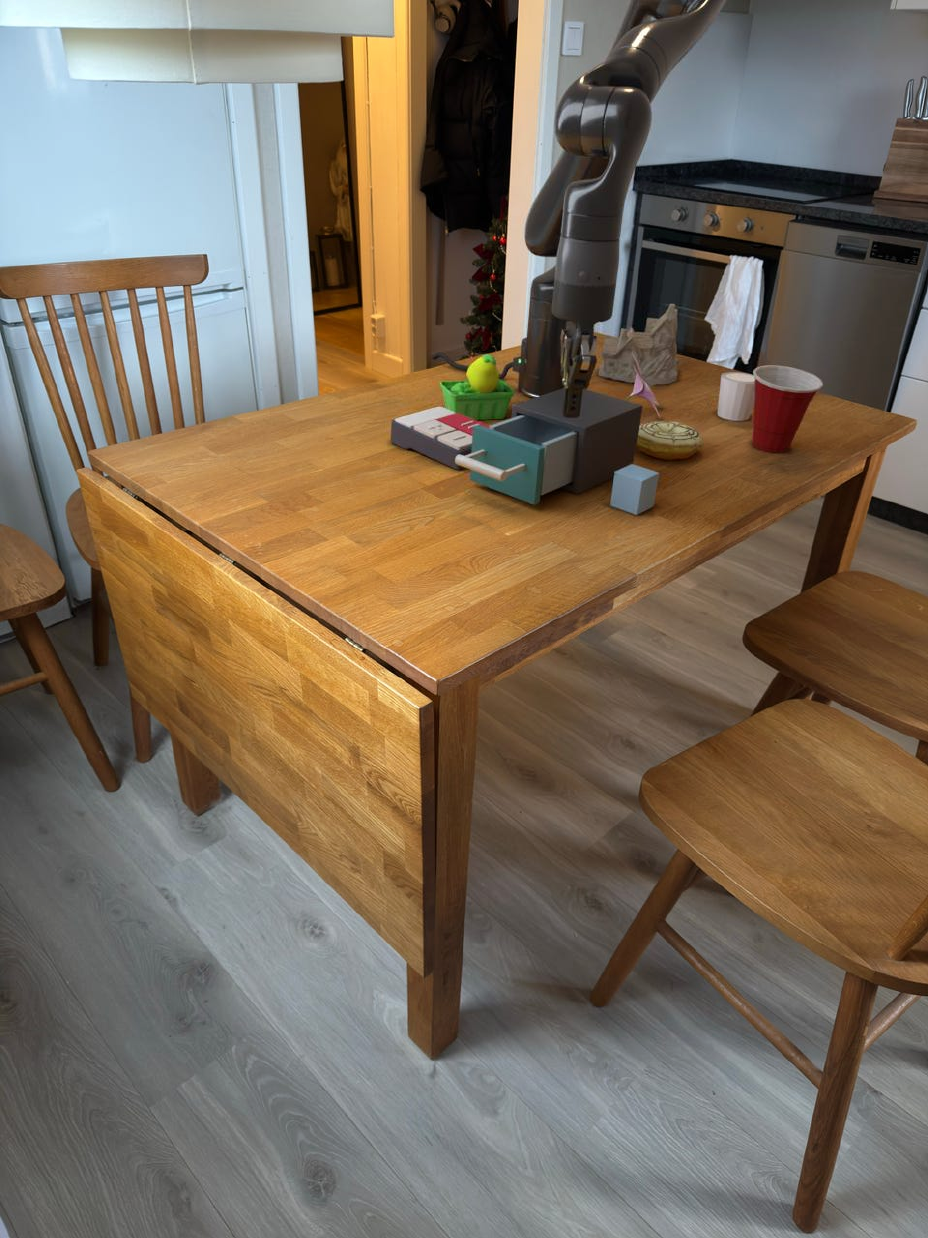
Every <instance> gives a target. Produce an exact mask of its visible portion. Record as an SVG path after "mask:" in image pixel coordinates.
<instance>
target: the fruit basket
mask: <svg viewBox="0 0 928 1238" xmlns="http://www.w3.org/2000/svg"><path fill="white" fill-rule="evenodd" d="M496 365H497V361H496V358H495V357H494V356H493V355H490V354H487V353H486V354H482V356H480V357H478V358H477V359H476V360H475V361H473V362H471V364H470V365H468V366H469V368H468V370H467V371H466V378H467V380H450V381H449V380H447V381H440V382H439V386H440V389H441V391H442V395H443V402H444V406H445V408H446V409H448V410H450V411H453V412H455V413H460V414H462V415H465V416H467V417H469V418H472V419H474V420H476V421H490V420H503V419H505V417H506V414H507V412H508V409H509V406H510V404H511V401H512V398H513V397H514V395H515V394H516V393H515V392H516V391H515V390H514V389H513V388H512V387H511V386H510V385H508V383H506V382H505V381H504V380H503V379H499V374H500V373H499V369H498V368H497V366H496Z"/></svg>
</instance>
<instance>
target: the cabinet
mask: <svg viewBox="0 0 928 1238" xmlns="http://www.w3.org/2000/svg"><path fill="white" fill-rule="evenodd" d="M563 391H564V388H563V389H560V390H557V391H554V392H551V393H548V394H545V395H542V396H539V397H536V398H529V399H526V400H524V401H520V402H518V403H515V404H512V408H511V410H512V411H511V418H514V417H517V416H520V415H523V414H524V415H527V416H530V417H533V418H536V419H539V420H543V421H546V422H549V423H552V424H555V425H558V426H561V427H564V428H568V429H571V430H574V431H577V432H580V433H579V439H578V448H577V456H576V464H575V473H574V481H573V482H570V483H568V484H566V485H564V486H561V487H559V488H558V489H563V490H564V491H567V492H570V493H573V494H576V495H579V494H581V493H582V492H585V491H587V490H589V489H591V488H593V487H595V486H597V485H598V486H599V485H600V484H602V483H603V482H606V481H608V480H610V479H612V478H613V479H614V474H615V472H616V471H618V470H620V469H622V468H624V467H627V466H629V465H631V464H634V465H635V458H636V453H637V452H636V450H637V447H638V446H637V439H638V433H639V426H641V419H642V413H643V405H642V404H640V403H639V404H638V403H635V402H631V401H628V400H627V401H625V400H626V399H622V398H618V397H615V396H611V395H607V394H604V393H600V392H596V391H594V390H591V389H590V390H589V389H588V388H587V389H584V390H583V391H582V400H581V408H580V415H579V417H577V418H566V417H564V416H563V414H562V411H561V410H562V401H563Z"/></svg>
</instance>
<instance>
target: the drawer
mask: <svg viewBox="0 0 928 1238" xmlns="http://www.w3.org/2000/svg"><path fill="white" fill-rule="evenodd" d="M488 426H489V428H486V427H483V426H480V425H477V426H474V427H473V434H472V453H471V454H468V455H466V456H463V455H460V454H459V455H457V456H456V458H455V463H456V464H457V465H460V466H462V467H465V468H464V469H468V470H470V471H469V472H470V473H469V474H470V475H469V481H471V482H474V483H476V484H479V485H481V486H483V487H486V488H489V489H492V490H495V491H497V492H498V493H502V494H504V495H507V496H510V497H512V498H515V499H518V500H520V501H523V502H524V503H528V504H531V505H532V506H535V505H537V504H540V502H541V496H544V495H546V494H548V493H551V492H552V491H555V490H558V489H560V488H559V487H561V486H564V485H566V484H568V483H570V482H573V481H574V473H575V464H576V456H577V448H578V439H579V433H580V432H577V431H574V430H571V429H568V428H564V427H561V426H558V425H555V424H552V423H549V422H546V421H543V420H539V419H536V418H533V417H530V416H527V415H524V414H523V415H520V416H517V417H514V418H512V417H511V418H508V419H505V420H502V421H499V422H497V423H493V424H491V425H488Z"/></svg>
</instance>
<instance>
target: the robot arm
mask: <svg viewBox="0 0 928 1238" xmlns="http://www.w3.org/2000/svg"><path fill="white" fill-rule="evenodd" d="M726 2H727V0H630V2H629V4H628V7H627V9H626V12H625V14H624V17H623V20H622V22H621V25H620V27H619V30H618V32H617V34H616V37H615V39H614V42H613V43H612V46H611V47H610V50H609V53H608V55H607V57H606V58H605V61H603V62H601V63H599V64H597V65H596V66H594V67H592V69H590V70H588V71H587V72H586V73H583V74H582V75H581V76H579V77H578V78H577V79H575V80H574V82H572V83H571V84H570V86H569V87H568V88H567V89H566V90H565V91H564V93H563V95H562V96H561V98H560V99H559V102H558V104H557V107H556V109H555V114H554V121H553V129H554V135H555V139H556V141H557V143H558V144H559V146H560V148H561V149H562V151H561V153H560V155H559V157H558V159H557V161H556V163H555V165H554V167H553V168H552V170H551V172H550V174H549V175H548V177H547V178H546V180H545V182H544V184H543V185H542V187H541V189H540V190H539V192H538V194H537V195H536V197H535V198H534V200H533V201H532V204H531V205H530V208H529V210H528V213H527V216H526V220H525V224H524V235H523V236H524V242H525V246H526V248H527V250H528V251H529V252H530V253H531V254H532V255H534V256H537V257H542V258H555V264H554V265H553V267H551V268H550V269H549V270H547V271H545V272H544V273H542V274H539V275H537V276H536V277H534V278H533V279H532V281H531V283H530V291H529V303H528V305H529V306H528V319H527V330H526V337H524V338H522V339H521V344H520V345H521V346H520V347H521V348H520V356H516V357H513V358H512V359H513V360H512V361H511V362H508V363H507V364H505V366H504V367H503V370H502V372H501V373H499V380H503V379H505V378H506V377H507V375H508V372H509V370H510V369H512V371H513V372H515V373H518V383H517V391H518V392H521V393H522V394H523V395H524V396H526V397H529V398H530V399H533V398H536V397H539V396H542V395H545V394H548V393H551V392H554V391H557V390H560V389H563V388H564V391H563V401H562V410H561V411H562V414H563V416H564V417H566V418H577V417H579V415H580V408H581V400H582V391H583V390H584V389H587V390H588V388H589V386H590V385H589V384H590V382H591V380H592V377H593V374H594V370H595V368H596V366H597V363H598V358H597V355H595V353H594V352H595V351H596V350H597V345H598V336H597V335H595V325H596V324H598V323H605V322H608V321H609V320H611V318H612V317H613V312H614V305H615V304H614V303H615V296H616V289H617V281H618V280H617V279H618V274H619V273H618V272H619V266H620V265H619V264H620V240H621V232H622V225H623V224H622V223H623V217H624V210H625V203H626V199H627V195H628V191H629V188H630V184H631V182H632V178H633V176H634V173H635V170H636V167H637V164H638V162H639V159H640V157H641V155H642V152H643V150H644V147H645V145H646V142H647V139H648V136H649V134H650V131H651V125H652V118H653V112H652V105H651V104H652V103H653V101H654V99H655V97H656V96H657V94H658V92H659V91H660V90H661V88H662V86H663V84H664V83H665V81H666V79H667V78H668V76H669V75H670V74H671V72H672V71H673V70H674V68H675V67H676V66H677V65H678V64H679V63H680V62H681V61H682V60H683V59H684V58H685V57H686V56H688V54H689V53H690V52H691V51H692V50H693V49H694V48H695V46H696V45H697V44H698V43H699V42H700V41H701V40H702V38H703V37H704V36H705V35H706V34H707V33H708V32H709V30H710V29H711V27H712V26H713V24H714V23H715V22H716V19H717V18H718V17H719V15H720V13H721V12H722V9H723V8H724V6H725V4H726ZM652 18H653V20H651V19H652ZM438 358H442V359H443V360H444V361H445V362H446V363H447V364H448V365H449V366H451V367H452V368H454V369H456V370H460V371H465V372H467V370H468V368H469V366H470V365H465V364H461V363H458V362H455V361H454V360H452V359H451V358H450V357H449V356H448V355H447V354H445V353H444V352H442V351H437V352H435V353H434V354H433V355H432V356H431V357H430V360H437V359H438Z"/></svg>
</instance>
